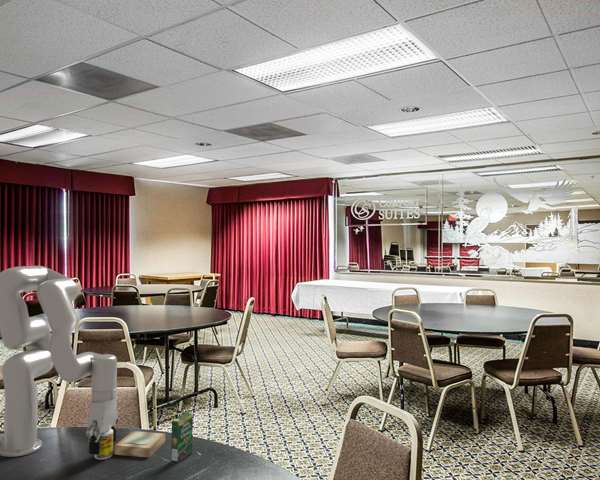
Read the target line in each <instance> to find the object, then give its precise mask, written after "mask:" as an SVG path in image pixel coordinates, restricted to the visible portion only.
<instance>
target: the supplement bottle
mask: <svg viewBox="0 0 600 480" xmlns="http://www.w3.org/2000/svg"><path fill="white" fill-rule="evenodd" d="M96 431H99V430H96ZM94 436H95V437H96V436H97V434H94ZM99 441H100V453H99V454H98V455H94V454H93V457H94V458H95V459H96V460H100V461H102V460H107V459H109V458H111V457H112V456H113V454H114V452H113V451H114V442H113V430H112V429H111V425H109V427H108V429H107V430H106V431H105V432H103V433H102V434H101V435H100V438H99Z"/></svg>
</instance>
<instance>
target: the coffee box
mask: <svg viewBox="0 0 600 480" xmlns="http://www.w3.org/2000/svg"><path fill="white" fill-rule="evenodd" d="M193 418H194V416H193V413H190V412H185V413H183V414H181V415H179V416H178V417H177V418H175V419H173V420H171V449H170V450H171V454H170V455H171V456H170V457H171V458H170V460H171V462H174V463H177V464H178V463H179V462H181V461H182V460H184V459H185V458H187V457H189V456H190V455H192V454H193V430H194V429H193V424H194V423H193V422H194V421H193V420H194V419H193Z"/></svg>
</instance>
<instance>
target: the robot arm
mask: <svg viewBox="0 0 600 480" xmlns="http://www.w3.org/2000/svg"><path fill="white" fill-rule="evenodd" d="M34 291H36V297H37V300H38V302H39V304H40V306H41V309H42V312H43V314H44V316H45V318H46V320H47V321H46V320H45V319H44V318H42V317H40V316H29V315H30V314H29V311H28V306H27V303H26V301H25V300H24V298H23V297H22V296H21V294H22V293H26V292H34ZM78 296H79V287H78V285H77V283H76V282H75V281H74V280H73V279H72V278H70V277H68V276H66V275H64V274H61V273H60V272H57V271H55V270H53V269H51V268H48V267H46V266H43V265H27V266H25V265H23V266H22V265H21V266H13V267H10V268H6V269H4V270H2V271H1V272H0V334H1V340H2V344H3V346H4V347H5V348H6V349H8V350H19V349H23V348H26V350H24V351H22V352H17V353H16V354H13V355H11V356H9V357H8V358H6V360H5V361H4V362H3V365H2V368H1V376H2V380H3V386H4V420H3V422H4V423H3V425H4V426H3V433H0V456H1V457H8V458H13V457H15V458H17V457H22V456H27V455H29V454H33V453H35V452H37V451H38V450H40V449H41V448H42V447H43V441H42V440H41V439H39V438H38V414H39V408H38V407H39V391H38V387H37V384H36V383H35V378H38V377H41V376H43V375H45V374H48V373H49V372H50V371H51V370H52V369H53V367H54V368H55V370H56V372H57V374H58V376H59V377H60V378H61V379H62V380H63V381H64V382H67V383H73V382H74V383H76V382H78V381H79V380H82V379H84V378H86V377H89V376H91V389H90V390H91V393H90V395H91V396H90V397H91V398H90V399H91V401H90V403H89V409H88V417H87V428H86V429H87V430H86V431H85V433H86V438H87V442H88V454H89V455H93V456H94V455H98V454H99V453H100V441H99V438H100V435H101V434H102V433H103V432H105V431H106V430H107V429H108V427H109V425H111V429H112V430H113V443H115V442H116V441H117V428H118V425H117V424H118V422H119V420H118V419H119V415H120V412H119V411H118V407H117V389H118V388H117V386H118V385H117V383H118V382H117V381H118V379H117V377H118V374H117V373H118V358H117V356H116V355H115V354H112V353H111V354H110V353H105V354H101V353H97V352H94V351H85V352H82V353H80V354H79V353H78V354H76V355H75V353H74V349H73V348H72V342H71V340H72V339H71V338H72V335H73V332H74V330H75V328H76V327H77V325H78V324H79V316H78V314H77V312H76V310H75V308H74V306H73V303H72V302H73V301H75V299H77V297H78ZM97 430H99V431H97ZM95 434H97V436H96V437H95Z"/></svg>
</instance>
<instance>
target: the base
mask: <svg viewBox="0 0 600 480" xmlns="http://www.w3.org/2000/svg"><path fill="white" fill-rule="evenodd" d="M165 443H166V433H164V432H163V433H160V432H151V431H150V432H148V431H138V430H137V431H136V430H134V431H133V430H132V431H131V432H129V433H128V434H127V435H126V436H125V437H123V438H122V439H121V440H119V441H118V442H117V443H116V444H115V445H114V455H116V456H117V455H118V456H128V457H129V456H130V457H138V458H139V457H140V458H151V457H152V456H153V455H154V454H156V452H157V451H158V450H159V449H160V448H161V447H162V446H163V445H164V444H165Z"/></svg>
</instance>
